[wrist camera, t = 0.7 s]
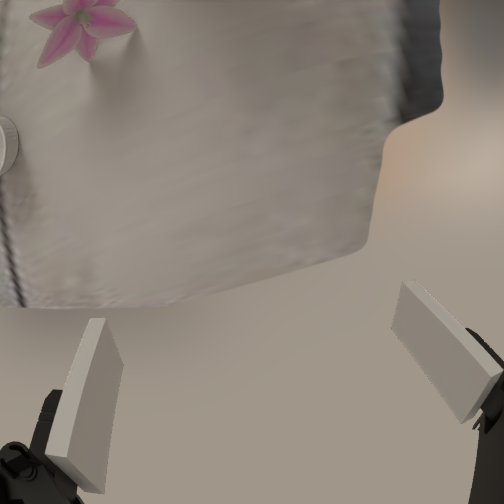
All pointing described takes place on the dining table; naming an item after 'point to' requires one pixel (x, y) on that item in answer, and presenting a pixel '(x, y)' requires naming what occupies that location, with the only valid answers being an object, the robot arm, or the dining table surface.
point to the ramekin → (7, 144)
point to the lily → (80, 27)
